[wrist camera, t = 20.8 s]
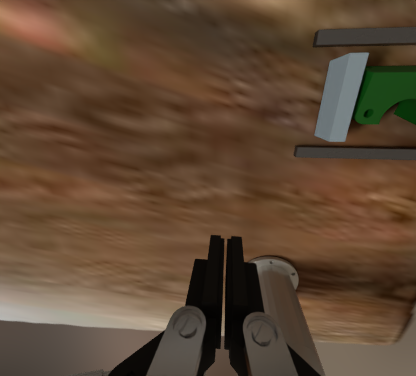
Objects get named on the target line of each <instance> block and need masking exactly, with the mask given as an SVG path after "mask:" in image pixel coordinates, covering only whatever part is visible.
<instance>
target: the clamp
mask: <svg viewBox="0 0 416 376" xmlns="http://www.w3.org/2000/svg"><path fill="white" fill-rule="evenodd" d="M359 90H360V91H359V93H358V95H357V99H356V102H355V106H354V110H353V113H352V119H354V120H355V121H357V122H358V123H360V124H379V122H380V119H381V117H382V116H383V114H384V113H385V112H386V111H387V110H388V109H389V108H390V107H391V106H393V105H394V104H396V103H398V102H399V104H398V107H397V109H396V110H395V112H394V114H395V115H397V116H399V117H401V118H403V119H405V120H407V121H409V122H411V123H413V124H415V125H416V66H365V69H364V73H363V77H362V80H361V84H360V88H359Z"/></svg>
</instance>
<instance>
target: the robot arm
mask: <svg viewBox="0 0 416 376" xmlns="http://www.w3.org/2000/svg"><path fill="white" fill-rule="evenodd" d="M223 268H224V239H223V238H221V236H218V235H211V238H210V245H209V253H208V260H205V259H195V262H194V266H193V271H192V276H191V280H190V285H189V290H188V295H187V299H186V304H185V306H184V307H181V308H179V309H177V310H176V311H175V312H174V313H173V315H172V317H171V318H170V320H169V323H168V325H167V328H166V330H164V331H163V332H162V333H160V334H159V335H158V336H156V337H155V338H154V339H152V340H151V341H150V342H148V343H147V344H146V345H144V346H143V347H142V348H140V349H139V350H138V351H136V352H135V353H133V354H132V355H131V356H130V357H128V358H127V359H125V360H124V361H123V362H122V363H120V364H119V365H117V366H116V367H115V368H114V369H113V370H112V371H106V372H104V371H103V369H102V370H96V371H90V372H85V373H79V374H73V375H67V376H205V375H206V370H207V369H208V368H209V367H210V366H211V365H212V364H213V363H214V362H215V349H216V348H217V349H220V346H221V324H222V300H223ZM298 283H299V278H298V274H297V271H296V269H295V268H294V266H293V265H292V264H291V263H289V262H288V261H286V260H284V259H282V258H278V257H272V256H265V257H259V258H256V259H253V260H251V261H249V262H244V257H243V247H242V237H235V236H231V239H227V259H226V282H225V341H224V342H225V343H224V349H226V350H229V359H230V364H231V366H232V367H233V368H234V370H235V371H236V372H237V373H238V376H325V373H324V370H323V368H322V365H321V362H320V359H319V356H318V353H317V350H316V348H315V345H314V342H313V339H312V336H311V333H310V331H309V328H308V325H307V322H306V319H305V316H304V314H303V311H302V308H301V305H300V302H299V299H298V297H297V294H296V291H295V290H296V288H297V286H298Z"/></svg>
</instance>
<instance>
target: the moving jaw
mask: <svg viewBox="0 0 416 376" xmlns="http://www.w3.org/2000/svg"><path fill="white" fill-rule="evenodd" d="M368 55H369V53H349V54H347V55H344V56H342V57H339V58H337V59H334V60H332V61H330V64H329V68H328V73H327V78H326V83H325V87H324V92H323V97H322V102H321V106H320V111H319V116H318V121H317V126H316V130H315V135H314V136H317V137H319V138H322V139H324V140H327V141H335V142H345V139H346V135H347V132H348V128H349V124H350V121H351V117H352V113H353V110H354V106H355V102H356V99H357V95H358V91H359V88H360V84H361V80H362V77H363V73H364V69H365V66H366V62H367V58H368Z"/></svg>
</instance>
